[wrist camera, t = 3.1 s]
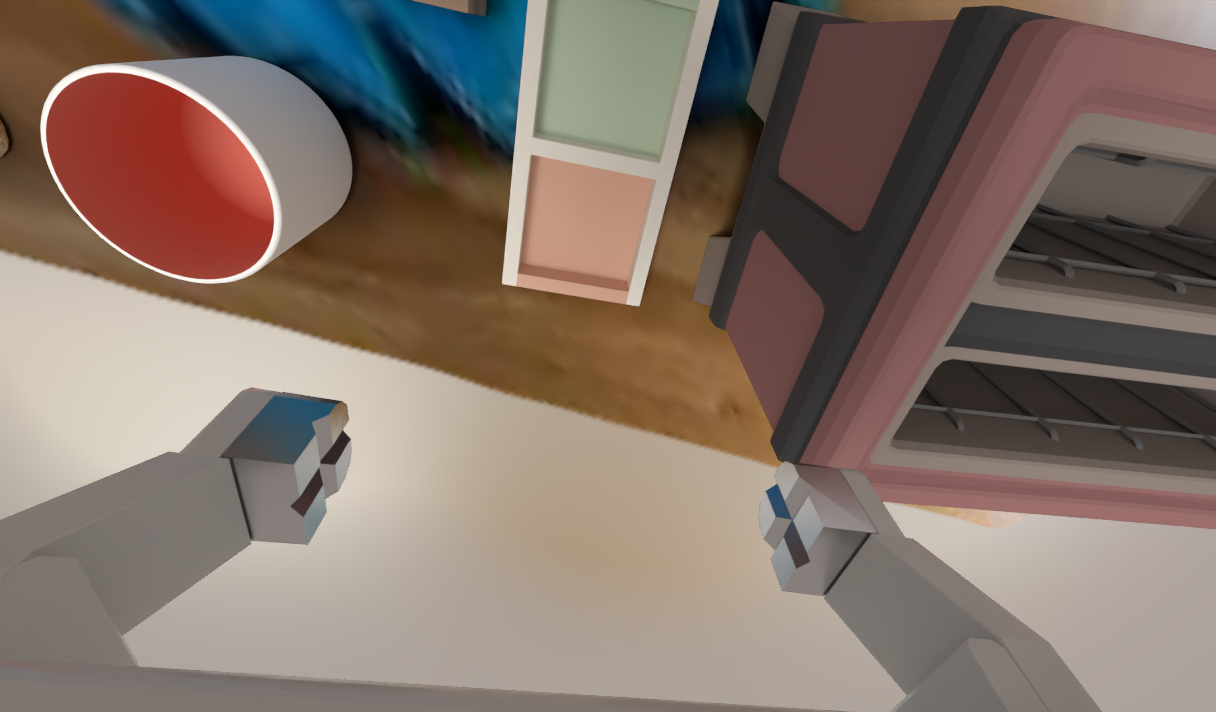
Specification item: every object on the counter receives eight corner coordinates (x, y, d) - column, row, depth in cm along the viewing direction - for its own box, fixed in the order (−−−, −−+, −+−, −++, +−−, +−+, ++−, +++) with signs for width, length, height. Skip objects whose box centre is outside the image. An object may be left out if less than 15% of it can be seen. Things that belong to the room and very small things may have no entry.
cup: (318, 43, 29) (208, 47, 20) (382, 213, 34) (316, 271, 26) (154, 68, 29) (-21, 82, 21) (243, 232, 35) (133, 295, 26)
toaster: (1077, 348, 42) (1410, 563, 25) (691, 300, 39) (773, 513, 22) (1272, 99, 32) (2060, 176, 15) (772, 0, 28) (1052, -48, 11)
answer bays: (536, -50, 27) (533, -56, 25) (713, -5, 28) (721, -7, 26) (505, 272, 37) (501, 283, 35) (637, 294, 38) (639, 306, 36)
